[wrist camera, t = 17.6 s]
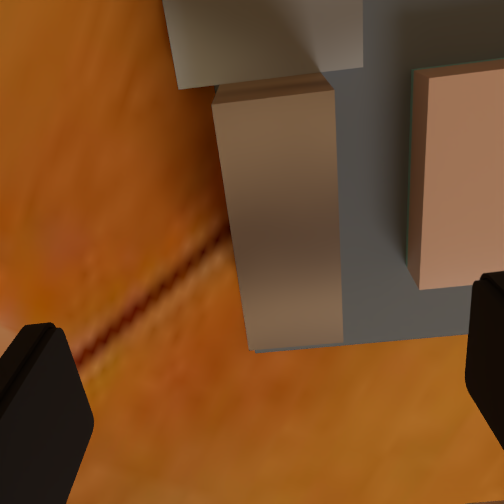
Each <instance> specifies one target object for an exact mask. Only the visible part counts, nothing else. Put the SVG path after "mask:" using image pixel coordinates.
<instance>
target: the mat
mask: <svg viewBox="0 0 504 504" xmlns="http://www.w3.org/2000/svg"><path fill="white" fill-rule="evenodd" d="M497 58H504V0H363V67H360V68H352V69H343V70H335V71H327V72H321V73H322V75H323V76H324V77H325V79H326V80H327V81H328V82H329V84H330V85H331V86H332V87H333V89H334V90H335V118H336V146H337V174H338V202H339V230H340V258H341V286H342V314H343V343H331V344H320V345H308V346H296V347H285V348H273V349H261V350H255V353H263V352H275V351H286V350H297V349H308V348H319V347H330V346H341V345H353V344H364V343H375V342H386V341H397V340H408V339H419V338H431V337H442V336H453V335H464V334H468V331H469V319H470V306H471V294H472V285H466V286H456V287H446V288H435V289H425V290H419V289H418V287H417V285H416V283H415V281H414V280H413V278H412V276H411V274H410V272H409V270H408V269H407V267H406V265H405V264H406V232H407V199H408V166H409V133H410V101H411V69H418V68H426V67H434V66H441V65H449V64H457V63H465V62H473V61H481V60H489V59H497ZM214 87H215V94H216V92H217V90H218V87H219V85H214Z"/></svg>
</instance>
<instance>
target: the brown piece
mask: <svg viewBox="0 0 504 504" xmlns="http://www.w3.org/2000/svg"><path fill="white" fill-rule="evenodd" d="M162 2H163V7H164V13H165V18H166V24H167V29H168V34H169V40H170V45H171V51H172V56H173V62H174V67H175V73H176V78H177V84H178V89H188V88H196V87H204V86H212V85H219V87H218V90H217V92H216V95H215V97H214V99H213V102H212V104H211V106H212V112H213V119H214V125H215V132H216V138H217V145H218V151H219V158H220V164H221V171H222V177H223V184H224V190H225V197H226V203H227V210H228V216H229V223H230V229H231V236H232V242H233V249H234V255H235V262H236V268H237V275H238V281H239V288H240V294H241V301H242V307H243V314H244V320H245V327H246V333H247V340H248V346H249V351H250V350H261V349H273V348H285V347H296V346H308V345H320V344H331V343H343V314H342V286H341V258H340V230H339V202H338V174H337V146H336V118H335V90H334V89H333V87H332V86H331V85H330V84H329V82H328V81H327V80H326V79H325V77H324V76H323V75H322V73H321V72H327V71H335V70H343V69H352V68H360V67H363V0H162Z"/></svg>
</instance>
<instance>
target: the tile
mask: <svg viewBox="0 0 504 504" xmlns="http://www.w3.org/2000/svg"><path fill="white" fill-rule="evenodd" d="M405 265H406V267H407V269H408V270H409V272H410V274H411V276H412V278H413V280H414V281H415V283H416V285H417V287H418V289H419V290H425V289H435V288H446V287H456V286H466V285H473V282H474V281H476V280H480V277H481V275H482V274H483V273H489V272H498V271H504V58H497V59H489V60H481V61H473V62H465V63H457V64H449V65H441V66H434V67H426V68H418V69H411V101H410V133H409V166H408V199H407V232H406V264H405Z"/></svg>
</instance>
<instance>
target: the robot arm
mask: <svg viewBox="0 0 504 504" xmlns="http://www.w3.org/2000/svg"><path fill="white" fill-rule="evenodd" d="M465 383H466V387H467V389H468V392H469V394H470V395H471V397H472V399H473V400H474V402H475V403H476V405H477V407H478V408H479V410H480V412H481V413H482V415H483V417H484V418H485V420H486V422H487V423H488V425H489V427H490V428H491V430H492V431H493V433H494V435H495V436H496V438H497V440H498V441H499V443H500V445H501V446H502V448H503V450H504V271H498V272H489V273H483V274H482V275H481V277H480V280H476V281H474V282H473V285H472V294H471V306H470V319H469V331H468V343H467V355H466V368H465ZM93 427H94V418H93V414H92V411H91V408H90V405H89V402H88V399H87V397H86V394H85V391H84V388H83V385H82V382H81V379H80V377H79V374H78V371H77V368H76V365H75V362H74V359H73V356H72V354H71V351H70V348H69V345H68V342H67V339H66V336H65V334H64V331H63V330H62V329H61V328H56V327H55V325H54V324H53V323H51V322H49V323H40V324H31V325H25V326H24V327H23V328H22V329H21V330H20V332H19V333H18V335H17V336H16V337H15V339H14V340H13V341H12V343H11V344H10V345H9V347H8V348H7V350H6V351H5V352H4V354H3V355H2V356H1V358H0V504H66V502H67V499H68V496H69V494H70V491H71V488H72V486H73V483H74V480H75V477H76V475H77V472H78V469H79V467H80V464H81V461H82V459H83V456H84V453H85V451H86V448H87V445H88V443H89V440H90V437H91V435H92V432H93ZM467 504H504V500H503V501H490V502H478V503H467Z"/></svg>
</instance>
